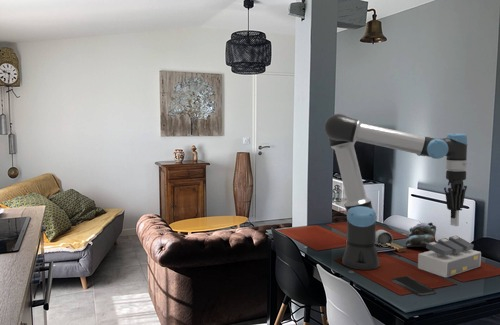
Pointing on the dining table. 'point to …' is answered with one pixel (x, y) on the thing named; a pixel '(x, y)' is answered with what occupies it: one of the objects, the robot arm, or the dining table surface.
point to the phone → (413, 286)
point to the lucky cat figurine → (421, 235)
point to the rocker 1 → (439, 248)
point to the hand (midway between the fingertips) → (454, 225)
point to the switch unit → (449, 262)
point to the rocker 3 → (461, 243)
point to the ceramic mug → (383, 237)
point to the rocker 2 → (451, 245)
